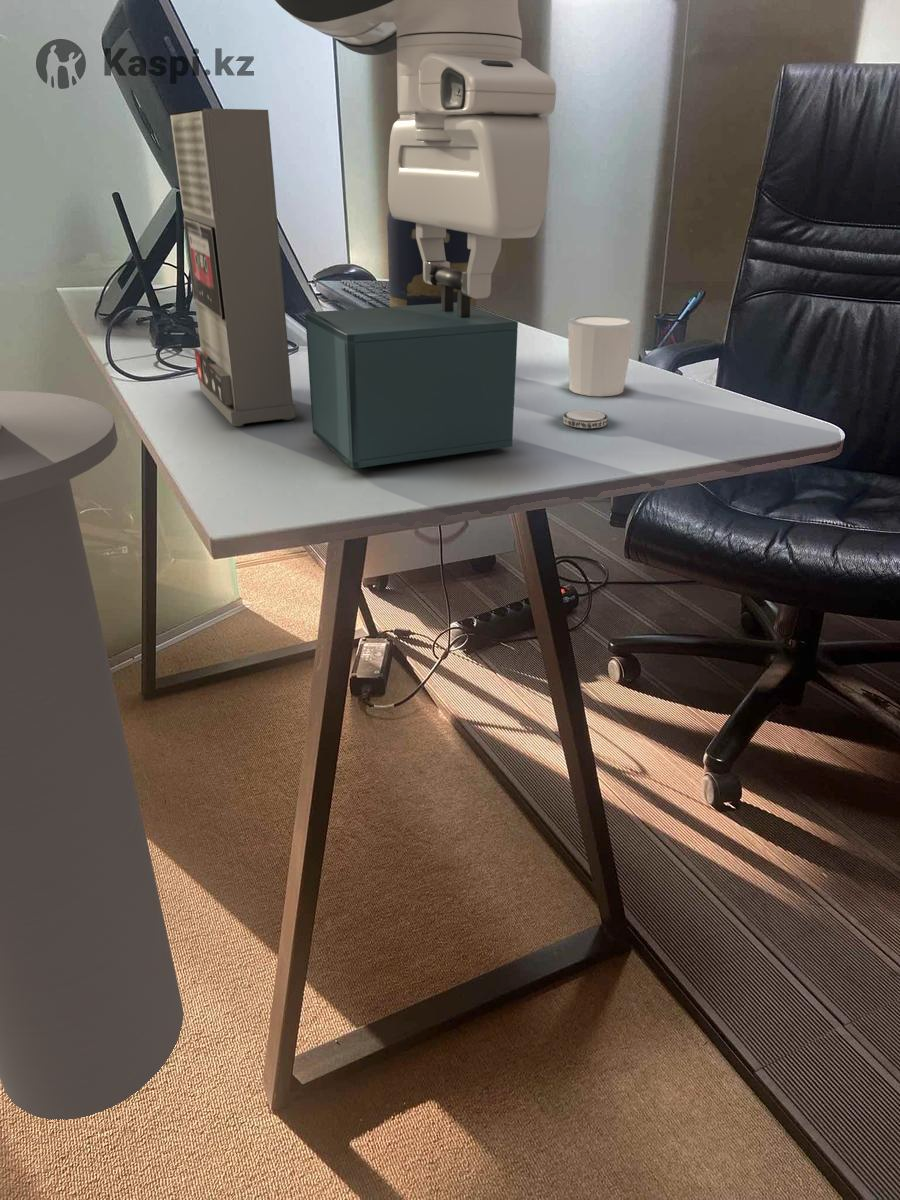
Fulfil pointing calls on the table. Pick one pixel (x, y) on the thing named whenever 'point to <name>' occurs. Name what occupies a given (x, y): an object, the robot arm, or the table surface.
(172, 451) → the table surface
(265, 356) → the beige tall upright block
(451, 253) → the canister
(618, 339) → the cream cup
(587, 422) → the washi tape
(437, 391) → the dark green lidded box
